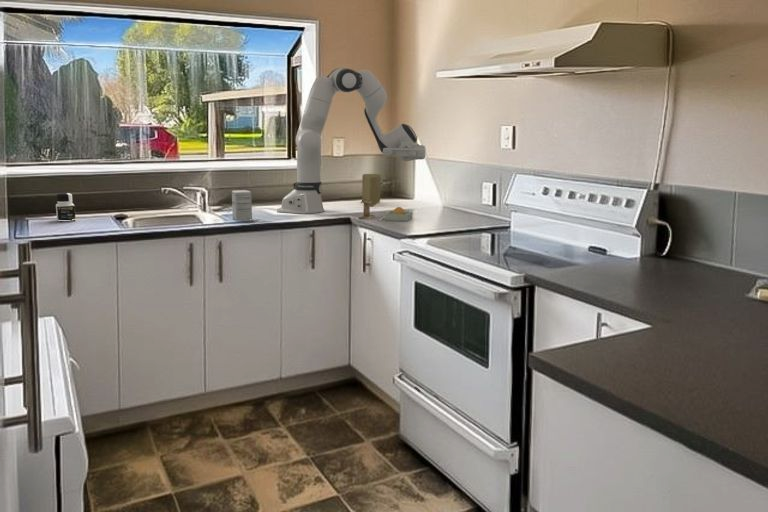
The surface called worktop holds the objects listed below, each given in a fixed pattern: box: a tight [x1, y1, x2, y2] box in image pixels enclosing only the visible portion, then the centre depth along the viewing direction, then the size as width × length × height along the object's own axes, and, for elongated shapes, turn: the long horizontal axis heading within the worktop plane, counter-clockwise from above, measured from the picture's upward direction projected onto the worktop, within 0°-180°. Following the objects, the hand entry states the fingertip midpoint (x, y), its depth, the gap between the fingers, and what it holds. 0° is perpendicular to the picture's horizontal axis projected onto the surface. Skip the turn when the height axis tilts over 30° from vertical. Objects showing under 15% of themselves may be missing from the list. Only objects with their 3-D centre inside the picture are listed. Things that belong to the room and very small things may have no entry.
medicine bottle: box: [55, 192, 77, 220], centre depth 323 cm, size 7×7×12 cm
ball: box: [393, 206, 405, 214], centre depth 331 cm, size 5×5×5 cm
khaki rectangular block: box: [361, 173, 382, 208], centre depth 383 cm, size 22×10×15 cm, turn 1°
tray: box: [384, 210, 413, 222], centre depth 332 cm, size 10×10×3 cm
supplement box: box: [231, 189, 253, 221], centre depth 329 cm, size 7×7×13 cm
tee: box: [358, 199, 376, 220], centre depth 335 cm, size 6×6×8 cm
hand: (401, 153), depth 342 cm, fingers open, 8 cm apart
